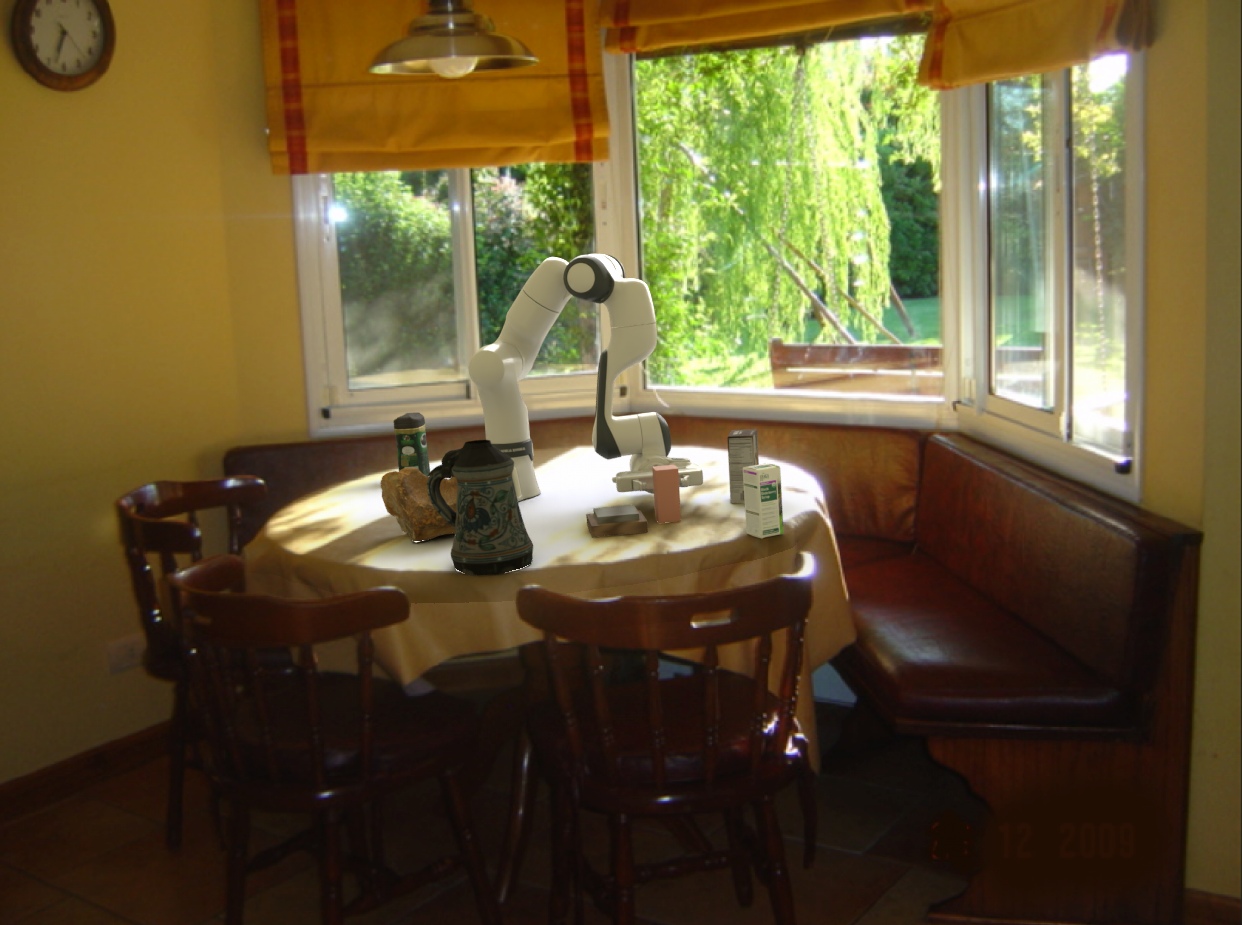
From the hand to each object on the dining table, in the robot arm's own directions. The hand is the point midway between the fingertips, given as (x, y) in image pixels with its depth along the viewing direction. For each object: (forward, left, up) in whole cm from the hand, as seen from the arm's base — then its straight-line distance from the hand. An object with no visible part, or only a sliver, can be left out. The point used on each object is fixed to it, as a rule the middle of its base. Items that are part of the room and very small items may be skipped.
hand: (664, 485), depth 268 cm
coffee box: (+21, +10, -7) cm, 24 cm away
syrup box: (+17, -24, -7) cm, 30 cm away
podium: (-12, -8, -7) cm, 16 cm away
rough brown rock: (-52, +1, -7) cm, 53 cm away
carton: (0, -4, -7) cm, 8 cm away
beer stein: (-41, -28, -7) cm, 50 cm away
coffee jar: (-59, +72, -7) cm, 93 cm away
